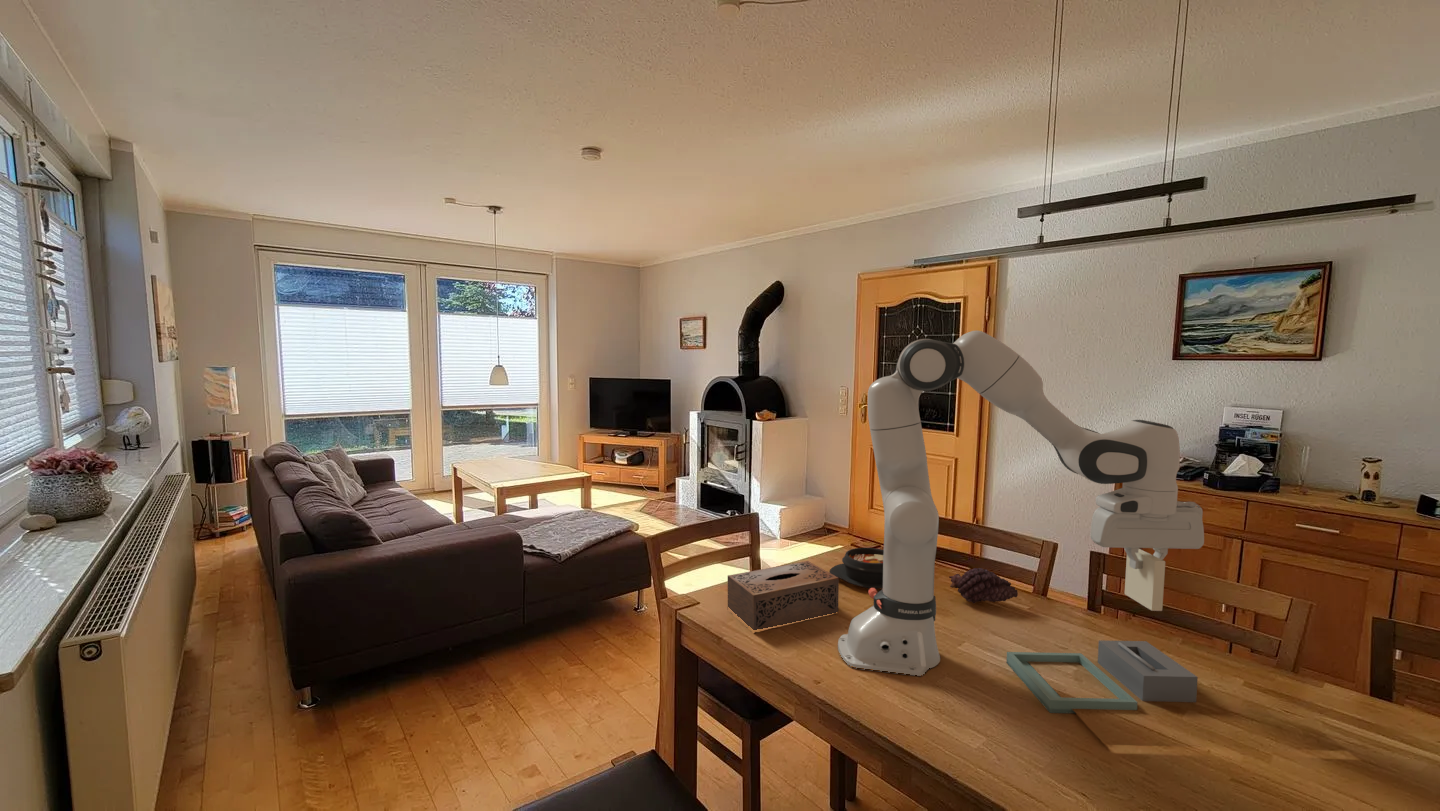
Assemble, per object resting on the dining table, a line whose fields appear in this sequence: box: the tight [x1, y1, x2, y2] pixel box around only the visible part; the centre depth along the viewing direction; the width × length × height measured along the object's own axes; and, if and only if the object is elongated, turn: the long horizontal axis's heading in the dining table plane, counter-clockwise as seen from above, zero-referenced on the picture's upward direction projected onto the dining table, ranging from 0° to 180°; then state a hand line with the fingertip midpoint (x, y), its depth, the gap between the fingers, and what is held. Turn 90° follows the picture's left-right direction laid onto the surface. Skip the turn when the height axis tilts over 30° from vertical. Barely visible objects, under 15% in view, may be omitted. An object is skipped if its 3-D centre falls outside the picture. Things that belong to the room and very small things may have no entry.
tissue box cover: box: [727, 560, 840, 630], centre depth 151 cm, size 26×14×10 cm, turn 115°
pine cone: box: [948, 567, 1019, 604], centre depth 155 cm, size 18×10×10 cm, turn 56°
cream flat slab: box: [1124, 548, 1166, 612], centre depth 114 cm, size 2×8×10 cm, turn 177°
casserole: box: [828, 547, 884, 590], centre depth 172 cm, size 25×19×8 cm
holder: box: [1097, 640, 1199, 703], centre depth 116 cm, size 10×14×7 cm
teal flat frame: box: [1005, 651, 1138, 714], centre depth 116 cm, size 16×18×2 cm
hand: (1144, 568), depth 114 cm, fingers closed on cream flat slab, 2 cm apart
